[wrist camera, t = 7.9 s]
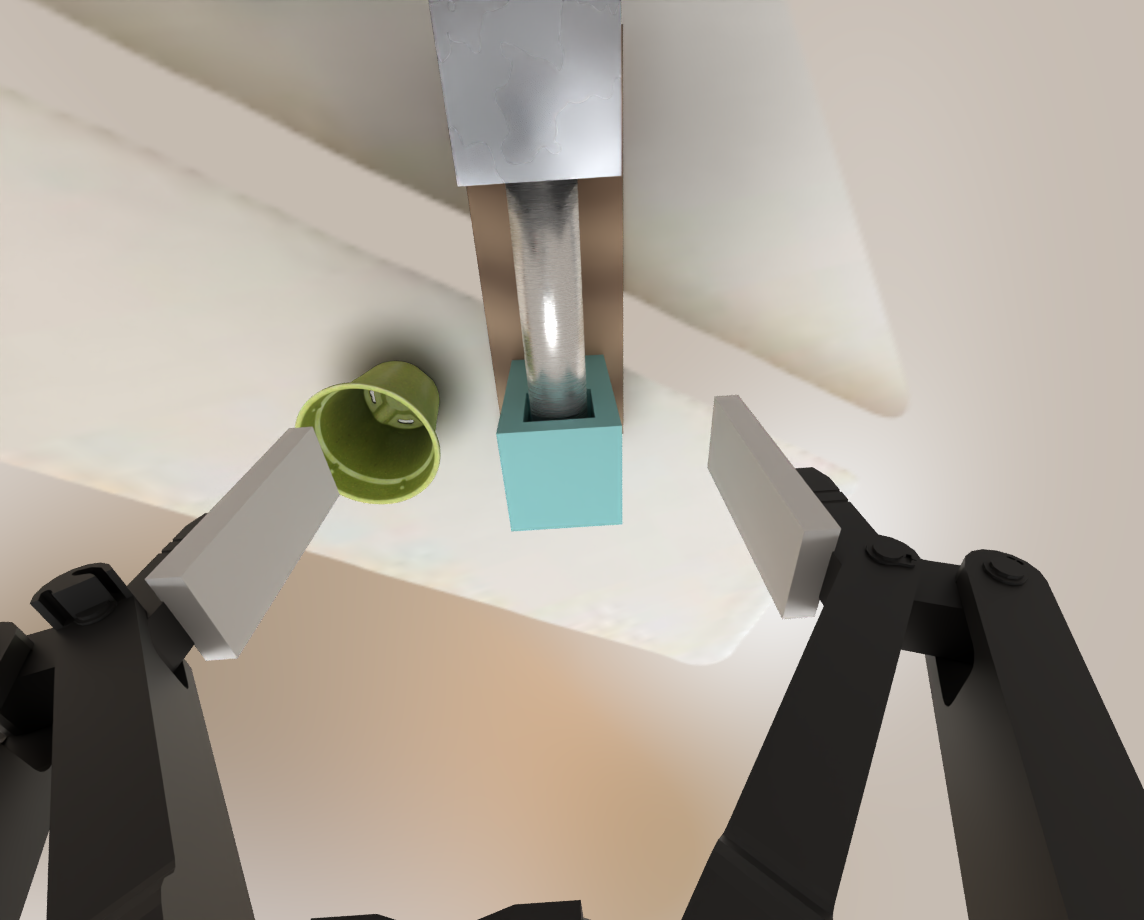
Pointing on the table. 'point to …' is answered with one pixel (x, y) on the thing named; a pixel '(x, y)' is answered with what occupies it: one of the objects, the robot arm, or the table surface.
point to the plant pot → (378, 433)
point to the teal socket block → (561, 457)
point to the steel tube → (550, 295)
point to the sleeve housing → (530, 88)
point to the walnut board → (598, 272)
